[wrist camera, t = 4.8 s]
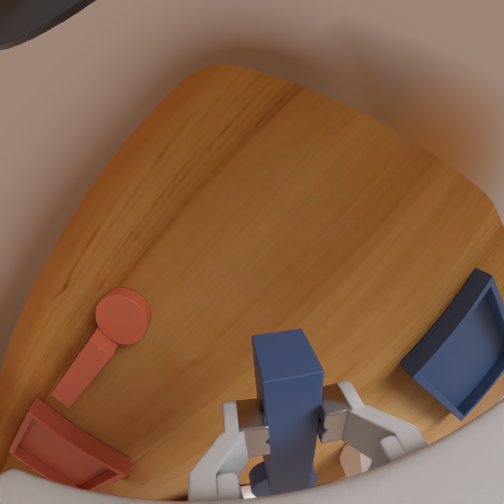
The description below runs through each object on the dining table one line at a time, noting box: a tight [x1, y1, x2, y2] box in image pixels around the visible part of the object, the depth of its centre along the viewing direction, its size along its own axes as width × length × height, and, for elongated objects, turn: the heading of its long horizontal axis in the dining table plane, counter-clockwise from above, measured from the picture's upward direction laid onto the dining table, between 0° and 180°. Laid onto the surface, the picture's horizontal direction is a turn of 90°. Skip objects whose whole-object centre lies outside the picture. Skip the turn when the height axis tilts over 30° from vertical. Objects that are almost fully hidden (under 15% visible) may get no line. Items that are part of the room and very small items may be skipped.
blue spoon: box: [249, 329, 324, 497], centre depth 11 cm, size 13×4×3 cm, turn 4°
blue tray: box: [400, 268, 504, 421], centre depth 25 cm, size 20×13×3 cm, turn 49°
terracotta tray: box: [9, 397, 131, 492], centre depth 22 cm, size 17×13×3 cm
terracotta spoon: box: [52, 288, 151, 408], centre depth 19 cm, size 13×4×3 cm, turn 136°
